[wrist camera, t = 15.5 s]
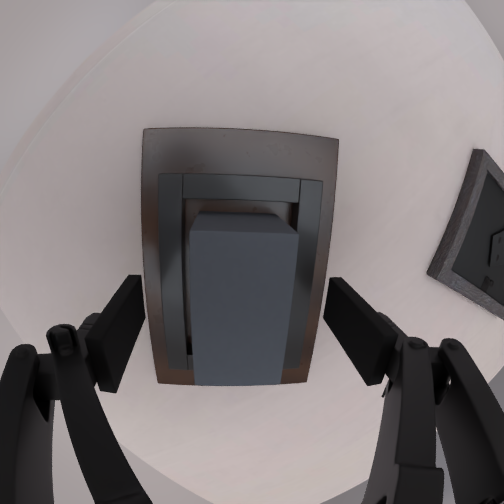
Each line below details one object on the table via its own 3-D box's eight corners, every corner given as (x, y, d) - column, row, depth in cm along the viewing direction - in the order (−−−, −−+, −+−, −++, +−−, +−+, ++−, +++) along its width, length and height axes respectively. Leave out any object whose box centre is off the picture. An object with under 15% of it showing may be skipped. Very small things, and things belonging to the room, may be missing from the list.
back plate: (304, 375, 24) (311, 393, 22) (159, 376, 23) (155, 395, 21) (333, 140, 19) (348, 137, 16) (146, 130, 17) (137, 125, 15)
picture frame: (533, 226, 24) (473, 149, 20) (543, 229, 22) (487, 149, 18) (497, 315, 27) (426, 273, 23) (506, 322, 25) (439, 281, 21)
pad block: (265, 332, 21) (280, 384, 16) (199, 332, 21) (194, 385, 15) (275, 213, 19) (299, 233, 13) (199, 210, 18) (189, 230, 13)
